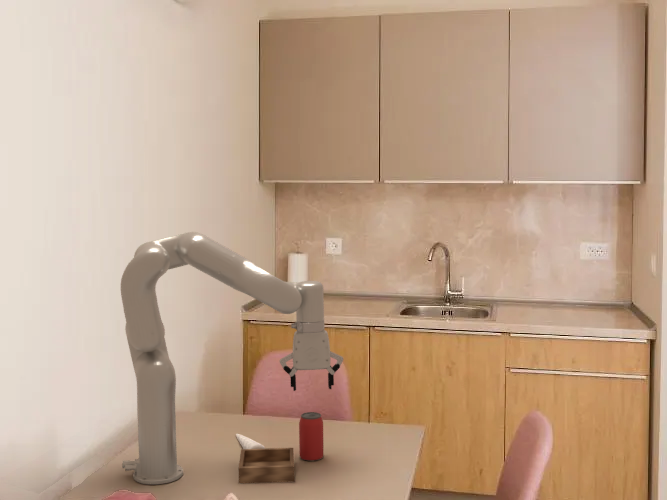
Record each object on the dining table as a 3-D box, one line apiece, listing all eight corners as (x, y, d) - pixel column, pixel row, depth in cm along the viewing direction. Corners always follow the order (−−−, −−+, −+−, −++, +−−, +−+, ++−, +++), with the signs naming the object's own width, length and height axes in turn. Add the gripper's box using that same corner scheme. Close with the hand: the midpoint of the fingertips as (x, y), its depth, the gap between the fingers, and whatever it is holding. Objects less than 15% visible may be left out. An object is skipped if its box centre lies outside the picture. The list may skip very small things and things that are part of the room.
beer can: (328, 456, 219) (327, 413, 218) (314, 463, 213) (314, 420, 212) (308, 451, 222) (307, 410, 221) (294, 459, 217) (294, 416, 216)
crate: (238, 483, 199) (238, 468, 199) (241, 463, 213) (241, 449, 213) (294, 481, 200) (294, 466, 200) (293, 462, 214) (293, 447, 214)
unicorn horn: (248, 434, 239) (248, 418, 238) (266, 461, 216) (266, 444, 216) (232, 436, 237) (232, 420, 237) (249, 463, 215) (248, 446, 214)
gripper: (278, 330, 210) (280, 394, 212) (343, 328, 211) (345, 391, 213) (278, 325, 218) (280, 386, 219) (341, 323, 219) (342, 383, 220)
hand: (312, 388), depth 216 cm, fingers open, 9 cm apart
